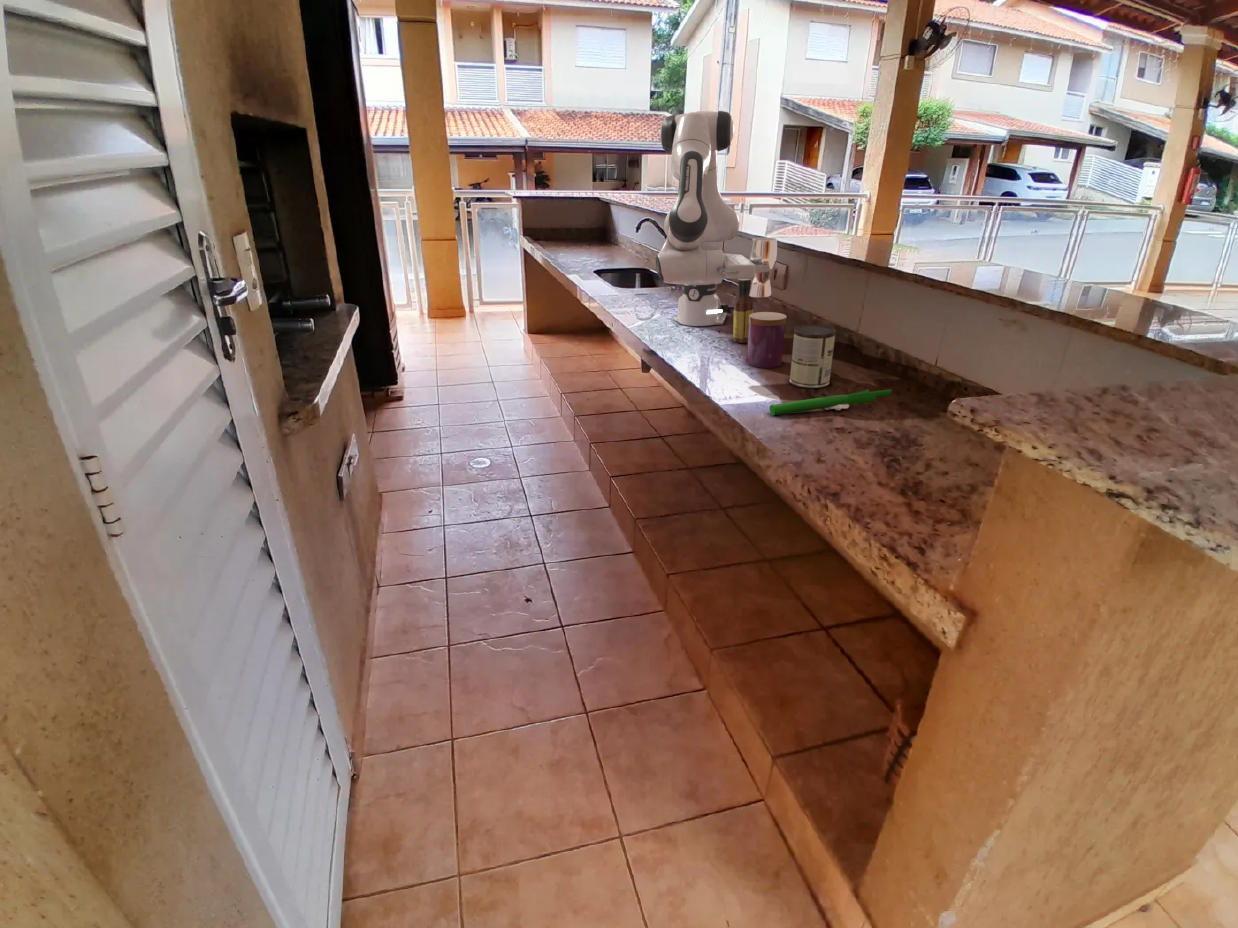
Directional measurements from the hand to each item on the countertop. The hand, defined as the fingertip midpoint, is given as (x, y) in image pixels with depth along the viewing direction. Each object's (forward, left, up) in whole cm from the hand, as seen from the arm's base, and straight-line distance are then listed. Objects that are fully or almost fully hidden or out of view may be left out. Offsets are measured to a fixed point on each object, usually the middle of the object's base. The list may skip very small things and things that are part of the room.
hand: (765, 266), depth 168 cm
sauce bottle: (-20, -10, -27) cm, 35 cm away
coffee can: (+14, +17, -27) cm, 35 cm away
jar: (+1, +2, -27) cm, 27 cm away
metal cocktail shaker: (0, -1, -8) cm, 8 cm away
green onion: (+32, +25, -27) cm, 49 cm away
